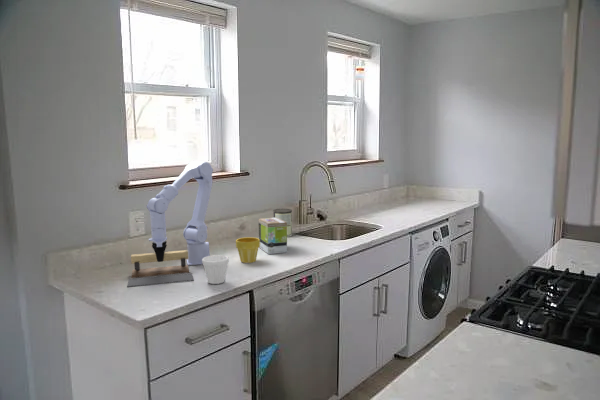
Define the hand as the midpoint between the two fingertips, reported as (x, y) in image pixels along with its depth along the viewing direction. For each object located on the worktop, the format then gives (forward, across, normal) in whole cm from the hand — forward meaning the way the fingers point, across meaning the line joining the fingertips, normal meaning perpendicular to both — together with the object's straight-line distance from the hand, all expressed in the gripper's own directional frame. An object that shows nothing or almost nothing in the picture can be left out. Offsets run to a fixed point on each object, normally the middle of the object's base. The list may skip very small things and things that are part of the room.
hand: (160, 260), depth 188 cm
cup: (+5, +20, +20) cm, 29 cm away
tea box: (+5, -21, +52) cm, 56 cm away
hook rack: (+5, 0, 0) cm, 5 cm away
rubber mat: (+5, +11, 0) cm, 12 cm away
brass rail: (0, 0, 0) cm, 0 cm away
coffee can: (+5, -51, +65) cm, 83 cm away
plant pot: (+5, -5, +37) cm, 38 cm away
